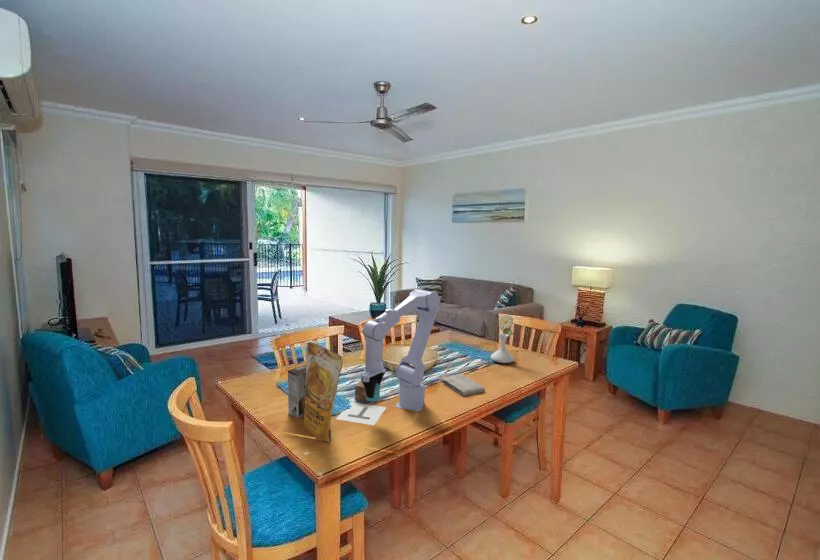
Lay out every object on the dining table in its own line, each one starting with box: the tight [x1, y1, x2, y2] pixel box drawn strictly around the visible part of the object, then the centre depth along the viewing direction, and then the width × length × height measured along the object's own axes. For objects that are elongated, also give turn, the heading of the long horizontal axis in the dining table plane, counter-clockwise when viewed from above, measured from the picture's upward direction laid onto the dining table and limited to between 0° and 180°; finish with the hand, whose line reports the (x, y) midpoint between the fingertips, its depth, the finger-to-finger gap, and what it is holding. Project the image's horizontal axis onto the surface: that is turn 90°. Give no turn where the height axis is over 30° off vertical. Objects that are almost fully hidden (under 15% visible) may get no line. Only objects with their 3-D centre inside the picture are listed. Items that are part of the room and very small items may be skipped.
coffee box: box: [287, 364, 306, 419], centre depth 144 cm, size 9×6×16 cm
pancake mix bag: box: [303, 341, 344, 443], centre depth 131 cm, size 7×19×28 cm, turn 40°
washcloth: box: [440, 373, 486, 397], centre depth 174 cm, size 12×18×3 cm, turn 29°
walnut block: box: [354, 380, 369, 402], centre depth 158 cm, size 5×5×6 cm
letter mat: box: [335, 401, 387, 426], centre depth 145 cm, size 14×14×1 cm
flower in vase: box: [490, 314, 514, 364], centre depth 205 cm, size 13×11×25 cm
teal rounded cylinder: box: [366, 383, 381, 402], centre depth 140 cm, size 4×4×5 cm
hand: (372, 394), depth 140 cm, fingers closed on teal rounded cylinder, 4 cm apart
